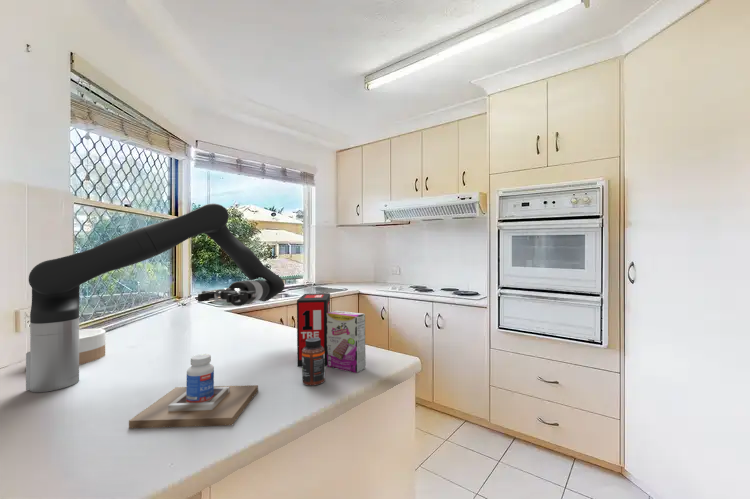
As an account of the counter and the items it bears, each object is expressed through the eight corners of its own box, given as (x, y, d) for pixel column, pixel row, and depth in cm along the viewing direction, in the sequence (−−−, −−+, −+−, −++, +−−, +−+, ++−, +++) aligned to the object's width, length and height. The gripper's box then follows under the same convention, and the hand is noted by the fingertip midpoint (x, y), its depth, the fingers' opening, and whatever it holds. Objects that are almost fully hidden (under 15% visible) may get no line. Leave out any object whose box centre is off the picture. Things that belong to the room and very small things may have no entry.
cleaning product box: (327, 365, 98) (326, 299, 99) (297, 366, 98) (296, 300, 98) (330, 349, 115) (329, 293, 115) (305, 350, 114) (304, 293, 115)
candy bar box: (325, 367, 97) (325, 312, 97) (336, 362, 101) (335, 310, 101) (356, 374, 91) (356, 315, 91) (366, 368, 95) (365, 313, 96)
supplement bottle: (329, 379, 87) (329, 337, 88) (316, 388, 82) (316, 343, 82) (311, 376, 90) (310, 335, 90) (297, 384, 85) (297, 340, 85)
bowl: (97, 349, 119) (97, 326, 119) (112, 357, 109) (112, 332, 109) (28, 362, 105) (29, 336, 105) (39, 373, 95) (39, 344, 95)
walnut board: (128, 428, 64) (128, 414, 64) (175, 393, 80) (175, 382, 80) (232, 425, 64) (232, 411, 65) (258, 391, 80) (257, 380, 81)
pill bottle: (202, 407, 69) (201, 361, 69) (180, 405, 70) (180, 359, 70) (219, 396, 74) (219, 353, 75) (199, 394, 76) (198, 352, 76)
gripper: (225, 280, 105) (189, 283, 89) (266, 281, 103) (238, 285, 87) (225, 303, 105) (189, 311, 89) (266, 304, 103) (237, 313, 87)
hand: (213, 298), depth 88 cm, fingers open, 8 cm apart
